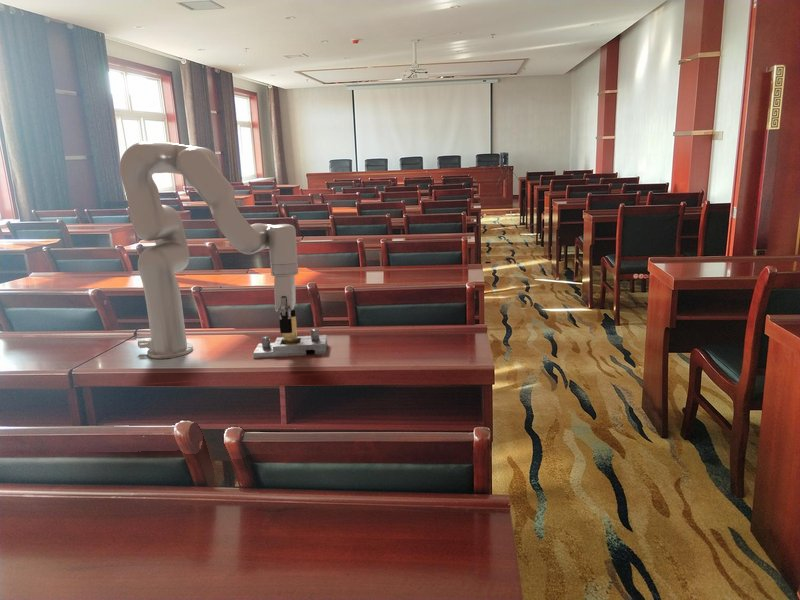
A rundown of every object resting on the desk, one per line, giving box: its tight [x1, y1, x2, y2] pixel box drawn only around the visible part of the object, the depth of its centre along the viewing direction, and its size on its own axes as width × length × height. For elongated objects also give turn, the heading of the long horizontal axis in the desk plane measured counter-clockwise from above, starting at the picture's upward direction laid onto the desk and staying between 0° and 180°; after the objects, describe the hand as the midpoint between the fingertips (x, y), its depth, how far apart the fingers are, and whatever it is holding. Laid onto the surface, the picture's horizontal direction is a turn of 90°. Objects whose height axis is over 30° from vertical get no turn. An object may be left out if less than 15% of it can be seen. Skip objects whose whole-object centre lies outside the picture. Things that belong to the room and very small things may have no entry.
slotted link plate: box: [253, 335, 308, 359], centre depth 173 cm, size 14×9×4 cm, turn 94°
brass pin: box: [282, 315, 298, 344], centre depth 172 cm, size 4×4×10 cm
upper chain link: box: [273, 328, 328, 355], centre depth 173 cm, size 14×9×6 cm, turn 94°
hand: (288, 328), depth 172 cm, fingers open, 9 cm apart
